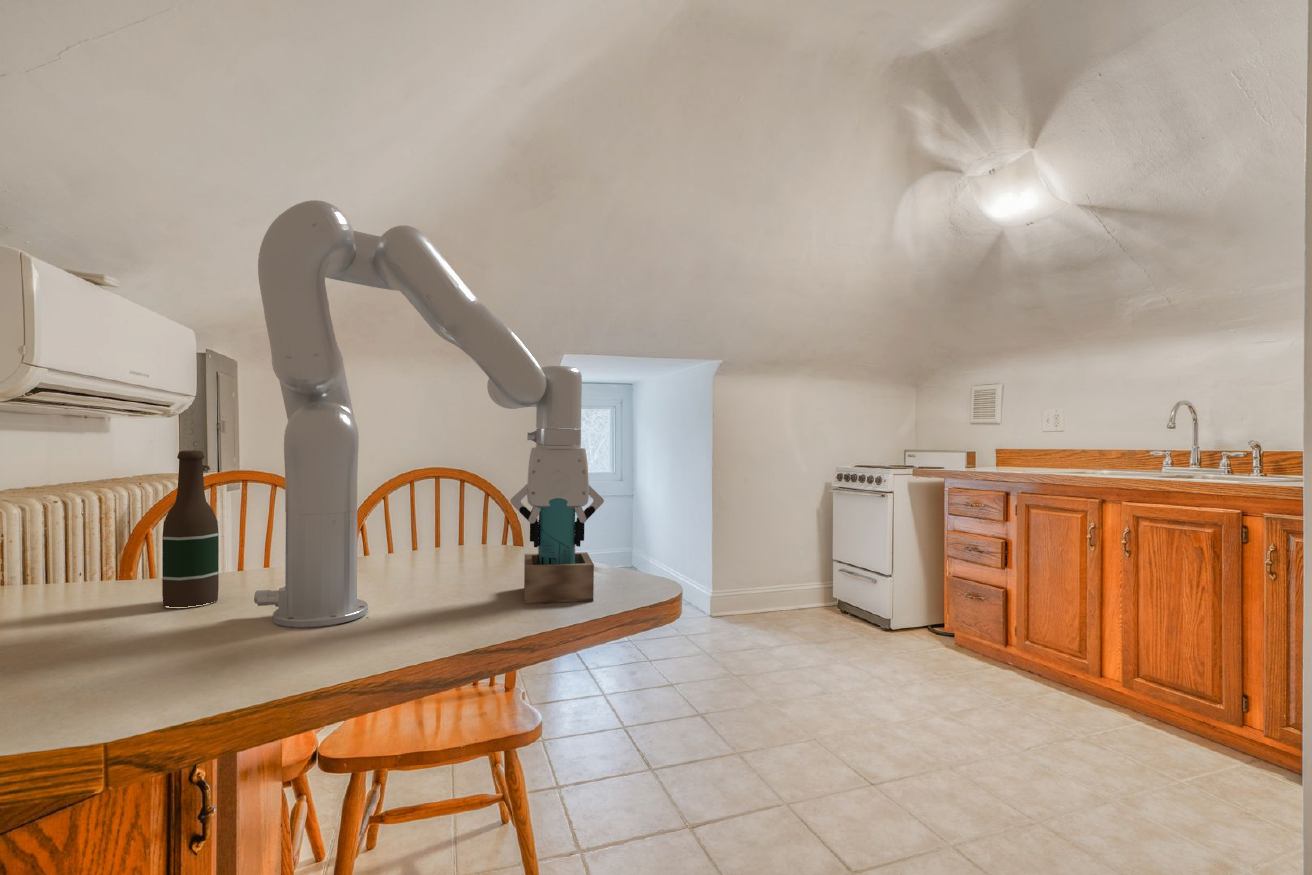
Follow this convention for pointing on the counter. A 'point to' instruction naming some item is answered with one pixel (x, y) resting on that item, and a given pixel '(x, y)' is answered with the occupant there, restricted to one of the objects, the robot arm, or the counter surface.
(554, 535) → the beverage bottle
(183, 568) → the beer bottle
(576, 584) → the holder
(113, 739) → the counter surface
